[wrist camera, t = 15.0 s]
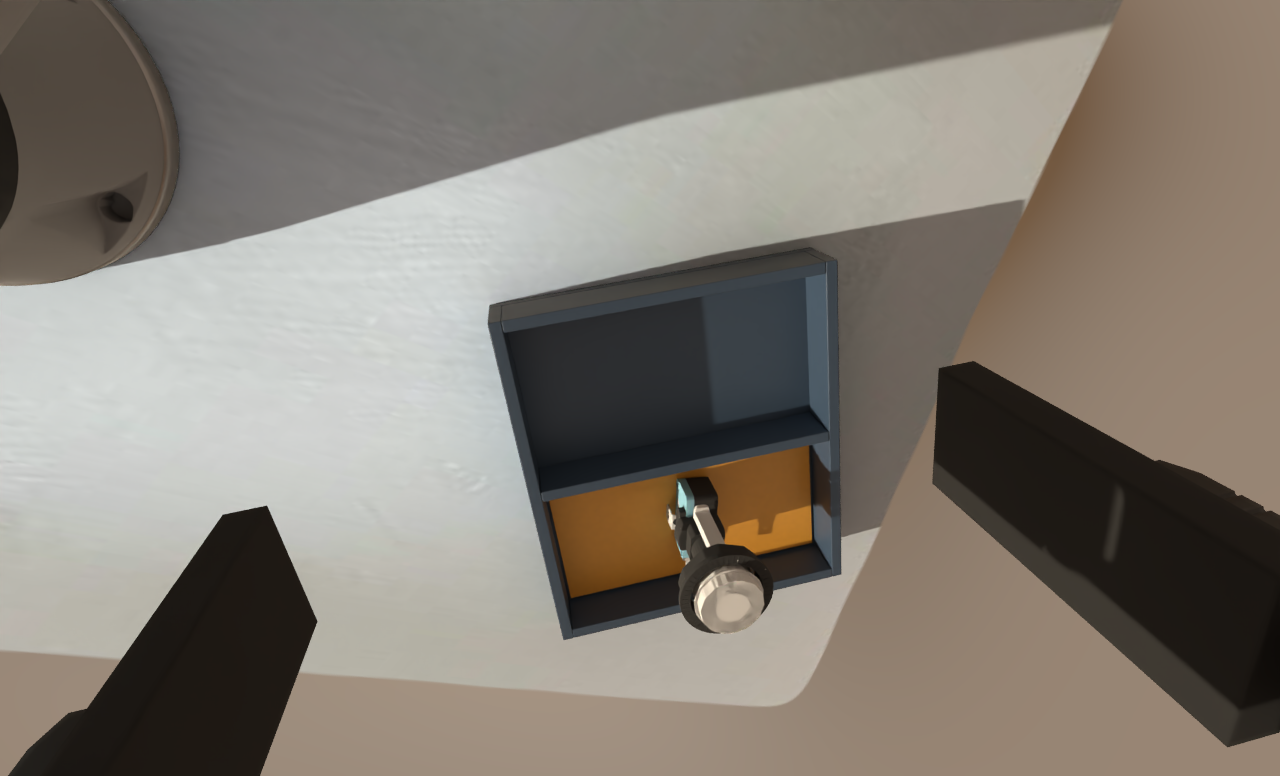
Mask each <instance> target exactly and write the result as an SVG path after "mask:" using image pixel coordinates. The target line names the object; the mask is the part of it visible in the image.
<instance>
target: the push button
mask: <svg viewBox="0 0 1280 776" xmlns="http://www.w3.org/2000/svg"><path fill="white" fill-rule="evenodd" d="M676 486H677V490H676V509H675V515H673V514H672V512H671V509H670V507H669V504H667V510H666V516H667V520H668V523H669V525H670V526H671V529H672V530H673V529H674V536H675V540H676V543H677V545H678V548H679V550H680V554H681V557H682V560H683V561H686V565H685V566H684V567H683V568H682V571H681V574H680V577H679V581H678V584H679V587H680V591H679V605H680V608H681V611H682V614H683V616H684V618H685V619H686V620H687V622H688V623H689V624H691V625H692V626H693V627H695V628H696V629H699V630H701V631H704V632H708V633H722V634H726V633H729V634H731V633H735V632H739V631H741V630H743V629H746V628H747V627H749V626H751V625H752V624H753V623H754V622H755V621H756V620H757V619H758V618H759V616H760V615H761V614H762V613H763V612H764V611H765V609H766V608H767V606H768V604H769V603H770V600H771V598H772V594H773V586H774V585H773V579H772V576H771V573H770V572H769V570H768V568H767V566H766V565H765V564H764V563H763V562H762V561H761V560H760V559H759V558H757V557H756V555H755V554H754V553H753V552H751V551H750V550H749V549H747V548H746V547H745V546H739V545H728V544H725V542H724V540H725V529H724V526H723V524H722V522H721V520H720V518H719V517H718V515H717V510H718V494H717V492H716V490H715V489H714V487H713V485H712V483H711V481H710V479H709V477H695V478H681V479H677V481H676ZM749 567H750V568H752V569H753V570H754V575H753V574H752V572H751V570H750V568H749ZM692 593H693V596H694V598H695V599H694V601H692V600H691V594H692Z"/></svg>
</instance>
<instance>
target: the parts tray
mask: <svg viewBox="0 0 1280 776" xmlns="http://www.w3.org/2000/svg"><path fill="white" fill-rule="evenodd" d="M488 328H489V332H490V336H491V341H492V345H493V349H494V353H495V357H496V361H497V366H498V370H499V374H500V378H501V382H502V386H503V391H504V395H505V399H506V403H507V407H508V411H509V415H510V420H511V424H512V428H513V432H514V436H515V440H516V445H517V449H518V453H519V457H520V461H521V465H522V470H523V474H524V478H525V482H526V486H527V490H528V495H529V499H530V503H531V507H532V511H533V515H534V519H535V524H536V528H537V532H538V536H539V540H540V544H541V549H542V553H543V557H544V561H545V565H546V569H547V574H548V578H549V582H550V586H551V590H552V594H553V599H554V603H555V607H556V611H557V615H558V619H559V623H560V628H561V632H562V636H563V640H566V639H571V638H574V637H579V636H583V635H587V634H592V633H596V632H600V631H604V630H608V629H613V628H617V627H621V626H625V625H630V624H634V623H638V622H642V621H646V620H651V619H655V618H659V617H663V616H668V615H672V614H676V613H680V612H682V611H681V608H680V605H679V591H680V587H679V584H678V581H679V577H680V574H681V571H682V568H683V567H684V566H685V565H686V561H683V560H682V557H681V554H680V550H679V548H678V545H677V543H676V540H675V536H674V529H673V530H672V529H671V526H670V525H669V523H668V520H667V516H666V510H667V504H669V507H670V509H671V512H672V514H673V515H675V509H676V490H677V486H676V481H677V479H681V478H695V477H709V479H710V481H711V483H712V485H713V487H714V489H715V490H716V492H717V494H718V510H717V515H718V517H719V518H720V520H721V522H722V524H723V526H724V529H725V540H724V542H725V544H728V545H739V546H745V547H746V548H747V549H749V550H750V551H751V552H753V553H754V554H755V555H756V557H757V558H759V559H760V560H761V561H762V562H763V563H764V564H765V565H766V566H767V568H768V570H769V572H770V573H771V576H772V579H773V585H774V586H773V590H777V589H782V588H786V587H790V586H794V585H798V584H803V583H807V582H811V581H815V580H820V579H824V578H828V577H832V576H836V575H840V574H841V508H840V427H839V345H838V264H837V260H836V259H834V258H832V257H830V256H828V255H826V254H824V253H822V252H819V251H817V250H815V249H813V248H805V249H800V250H794V251H789V252H783V253H777V254H772V255H766V256H761V257H755V258H749V259H744V260H738V261H733V262H727V263H722V264H716V265H710V266H705V267H699V268H694V269H688V270H683V271H677V272H671V273H666V274H660V275H655V276H649V277H644V278H638V279H632V280H627V281H621V282H616V283H610V284H605V285H599V286H593V287H588V288H582V289H577V290H571V291H566V292H560V293H554V294H549V295H543V296H538V297H532V298H527V299H521V300H515V301H510V302H504V303H499V304H493V305H490V306H489V315H488ZM749 568H750V567H749ZM750 570H751V572H752V574H753V575H754V570H753V569H752V568H750ZM694 599H695V598H694V596H693V593H692V594H691V600H692V601H694Z"/></svg>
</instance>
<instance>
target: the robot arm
mask: <svg viewBox="0 0 1280 776" xmlns="http://www.w3.org/2000/svg"><path fill="white" fill-rule="evenodd" d="M178 169H179V138H178V130H177V123H176V119H175V115H174V111H173V107H172V104H171V101H170V98H169V95H168V92H167V89H166V87H165V84H164V82H163V80H162V78H161V75H160V73H159V71H158V69H157V67H156V65H155V64H154V62H153V60H152V58H151V56H150V54H149V53H148V51H147V50H146V48H145V47H144V45H143V44H142V42H141V41H140V39H139V37H138V36H137V35H136V33H135V32H134V31H133V30H132V28H131V27H130V26H129V24H128V23H127V22H126V20H125V19H124V18H123V17H122V16H121V15H120V14H119V13H118V11H117V10H116V9H115V8H114V7H113V6H112V5H111V4H110V3H109V2H108V1H107V0H0V286H22V285H34V284H45V283H53V282H58V281H63V280H68V279H72V278H75V277H78V276H81V275H84V274H87V273H89V272H92V271H94V270H97V269H99V268H102V267H104V266H106V265H109V264H111V263H113V262H115V261H117V260H119V259H120V258H122V257H124V256H126V255H127V254H129V253H130V252H131V251H133V250H134V249H135V248H137V247H138V246H139V245H140V244H141V243H142V242H143V241H144V240H145V239H146V238H147V237H149V235H150V234H151V233H152V232H153V230H154V229H155V228H156V227H157V226H158V224H159V222H160V221H161V219H162V218H163V216H164V214H165V213H166V210H167V208H168V206H169V204H170V202H171V199H172V196H173V193H174V190H175V186H176V181H177V176H178ZM935 429H936V430H935V446H934V448H935V449H934V465H933V484H934V485H935V486H936V487H937V488H938V489H939V490H941V491H942V492H943V493H944V494H945V495H946V496H947V497H948V498H950V499H951V500H952V501H953V502H954V503H955V504H956V505H957V506H958V507H960V508H961V509H962V510H963V511H964V512H965V513H966V514H967V515H968V516H970V517H971V518H972V519H973V520H974V521H975V522H976V523H978V524H979V525H980V526H981V527H982V528H983V529H984V530H985V531H986V532H987V533H989V534H990V535H991V536H992V537H993V538H994V539H995V540H996V541H998V542H999V543H1000V544H1001V545H1002V546H1003V547H1004V548H1005V549H1007V550H1008V551H1009V552H1010V553H1011V554H1012V555H1013V556H1014V557H1015V558H1017V559H1018V560H1019V561H1020V562H1021V563H1022V564H1023V565H1024V566H1025V567H1027V568H1028V569H1029V570H1030V571H1031V572H1032V573H1033V574H1034V575H1036V576H1037V577H1038V578H1039V579H1040V580H1041V581H1042V582H1043V583H1045V584H1046V585H1047V586H1048V587H1049V588H1050V589H1051V590H1053V592H1055V593H1056V594H1057V595H1058V596H1059V597H1060V598H1061V599H1062V600H1063V601H1065V602H1066V603H1067V604H1068V605H1069V606H1070V607H1071V608H1073V609H1074V610H1075V611H1076V612H1077V613H1078V614H1079V615H1080V616H1081V617H1082V618H1084V619H1085V620H1086V621H1087V622H1088V623H1089V624H1090V625H1091V626H1093V627H1094V628H1095V629H1096V630H1097V631H1098V632H1099V633H1100V634H1102V635H1103V636H1104V637H1105V638H1106V639H1107V640H1108V641H1109V642H1111V643H1112V644H1113V645H1114V646H1115V647H1116V648H1117V649H1118V650H1120V651H1121V652H1122V653H1123V654H1124V655H1125V656H1126V657H1127V658H1128V659H1129V660H1131V661H1132V662H1133V663H1134V664H1135V665H1136V666H1137V667H1138V668H1139V669H1141V670H1142V671H1143V672H1144V673H1145V674H1146V675H1147V676H1148V677H1150V678H1151V679H1152V680H1153V681H1154V682H1155V683H1156V684H1157V685H1158V686H1160V687H1161V688H1162V689H1163V690H1164V691H1165V692H1166V693H1167V694H1169V695H1170V696H1171V697H1172V698H1173V699H1174V700H1175V701H1176V702H1178V703H1179V704H1180V705H1181V706H1182V707H1183V708H1184V709H1185V710H1186V711H1188V712H1189V713H1190V714H1191V715H1192V716H1193V717H1194V718H1195V719H1197V720H1198V721H1199V722H1200V723H1201V724H1202V725H1203V726H1204V727H1205V728H1207V729H1208V730H1209V731H1210V732H1211V733H1212V734H1213V735H1214V736H1216V737H1217V738H1218V739H1219V740H1220V741H1221V742H1222V743H1223V744H1224V745H1226V746H1227V747H1230V746H1234V745H1237V744H1241V743H1244V742H1247V741H1251V740H1255V739H1258V738H1262V737H1265V736H1268V735H1272V734H1276V733H1279V732H1280V515H1278V514H1276V513H1274V512H1273V511H1267V512H1266V511H1265V510H1264V508H1263V506H1261V505H1259V504H1258V503H1256V502H1254V501H1252V500H1250V499H1248V498H1246V497H1244V496H1243V495H1240V496H1237V495H1236V494H1235V491H1233V490H1231V489H1229V488H1227V487H1226V486H1223V485H1222V484H1220V483H1218V482H1216V481H1214V480H1212V479H1210V478H1208V477H1207V476H1205V475H1203V474H1201V473H1199V472H1195V471H1192V470H1189V469H1186V468H1183V467H1180V466H1177V465H1174V464H1171V463H1168V462H1165V461H1161V460H1158V461H1154V460H1152V459H1150V458H1148V457H1146V456H1145V455H1142V454H1141V453H1139V452H1137V451H1135V450H1134V449H1132V448H1130V447H1128V446H1126V445H1124V444H1123V443H1121V442H1119V441H1117V440H1115V439H1114V438H1112V437H1110V436H1108V435H1107V434H1105V433H1103V432H1101V431H1099V430H1097V429H1096V428H1094V427H1092V426H1090V425H1088V424H1087V423H1085V422H1083V421H1081V420H1079V419H1078V418H1076V417H1074V416H1072V415H1070V414H1068V413H1066V412H1065V411H1063V410H1061V409H1059V408H1058V407H1056V406H1054V405H1052V404H1050V403H1049V402H1047V401H1045V400H1043V399H1041V398H1039V397H1038V396H1036V395H1034V394H1032V393H1030V392H1029V391H1027V390H1025V389H1023V388H1021V387H1020V386H1018V385H1016V384H1014V383H1012V382H1010V381H1009V380H1007V379H1005V378H1003V377H1001V376H1000V375H998V374H996V373H994V372H992V371H991V370H989V369H987V368H985V367H983V366H981V365H979V364H978V363H976V362H974V361H972V362H967V363H962V364H957V365H952V366H947V367H943V368H939V373H938V392H937V411H936V428H935ZM316 624H317V619H316V617H315V615H314V612H313V610H312V608H311V606H310V603H309V601H308V599H307V596H306V594H305V592H304V590H303V587H302V585H301V583H300V580H299V578H298V576H297V573H296V571H295V569H294V567H293V564H292V562H291V560H290V557H289V555H288V553H287V550H286V548H285V546H284V544H283V541H282V539H281V537H280V534H279V532H278V530H277V527H276V525H275V523H274V521H273V518H272V516H271V514H270V511H269V509H268V507H267V506H263V507H258V508H253V509H249V510H244V511H239V512H234V513H229V514H224V515H222V517H221V518H220V520H219V521H218V522H217V524H216V525H215V527H214V528H213V530H212V531H211V532H210V534H209V535H208V537H207V538H206V540H205V541H204V542H203V544H202V545H201V547H200V548H199V550H198V551H197V552H196V554H195V555H194V557H193V558H192V560H191V561H190V562H189V564H188V565H187V567H186V568H185V570H184V571H183V572H182V574H181V575H180V577H179V578H178V580H177V581H176V582H175V584H174V585H173V587H172V588H171V590H170V591H169V592H168V594H167V595H166V597H165V598H164V600H163V601H162V602H161V604H160V605H159V607H158V608H157V610H156V611H155V612H154V614H153V615H152V617H151V618H150V620H149V621H148V622H147V624H146V625H145V627H144V628H143V630H142V631H141V632H140V634H139V635H138V637H137V638H136V640H135V641H134V642H133V644H132V645H131V647H130V648H129V650H128V651H127V652H126V654H125V655H124V657H123V658H122V660H121V661H120V662H119V664H118V665H117V667H116V668H115V670H114V671H113V672H112V674H111V675H110V677H109V678H108V680H107V681H106V682H105V684H104V685H103V687H102V688H101V690H100V691H99V692H98V694H97V695H96V697H95V698H94V700H93V701H92V702H91V704H90V705H89V707H88V708H87V709H84V710H80V711H75V712H71V713H68V714H67V715H66V716H65V717H63V718H62V719H61V720H60V721H59V722H58V723H57V724H56V725H55V726H53V727H52V728H51V729H50V730H49V731H48V732H47V733H46V734H45V735H44V736H42V737H41V738H40V739H39V740H38V741H37V742H36V743H35V744H33V746H31V747H30V748H29V749H28V750H27V751H26V753H25V754H24V755H23V757H22V758H21V759H20V761H19V762H18V763H17V765H16V766H15V767H14V769H13V770H12V771H11V773H10V774H9V775H8V776H260V774H261V771H262V769H263V766H264V763H265V760H266V758H267V755H268V753H269V750H270V747H271V745H272V742H273V739H274V736H275V734H276V731H277V728H278V726H279V723H280V720H281V718H282V715H283V712H284V710H285V707H286V704H287V702H288V699H289V696H290V694H291V691H292V688H293V686H294V683H295V680H296V678H297V675H298V672H299V669H300V667H301V664H302V661H303V659H304V656H305V653H306V651H307V648H308V645H309V643H310V640H311V637H312V635H313V632H314V629H315V627H316Z"/></svg>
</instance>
